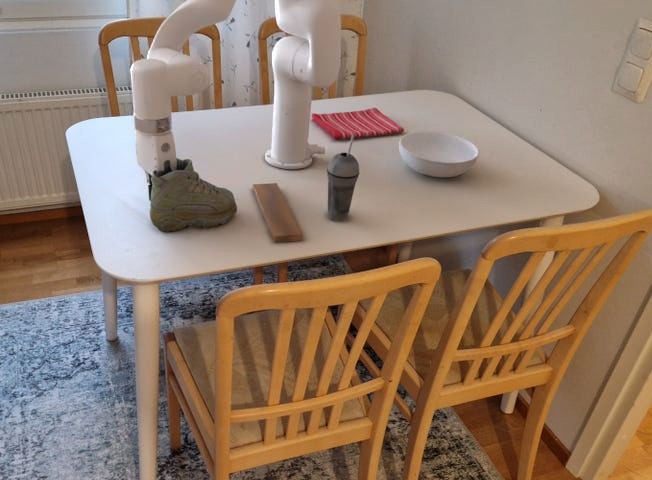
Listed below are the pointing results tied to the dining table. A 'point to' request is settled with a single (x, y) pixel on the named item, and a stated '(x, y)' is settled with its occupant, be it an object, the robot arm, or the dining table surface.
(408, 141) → the serving bowl
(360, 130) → the dish towel
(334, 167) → the beverage cup
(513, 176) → the dining table surface
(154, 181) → the sneaker
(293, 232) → the oak board
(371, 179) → the dining table surface
